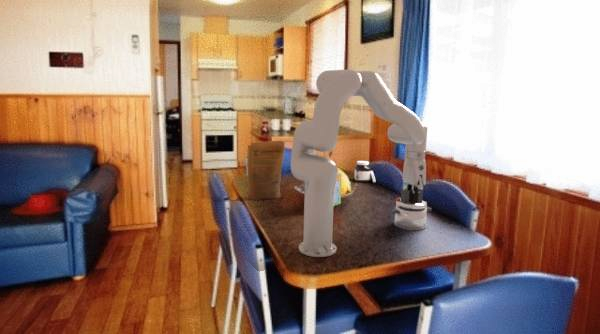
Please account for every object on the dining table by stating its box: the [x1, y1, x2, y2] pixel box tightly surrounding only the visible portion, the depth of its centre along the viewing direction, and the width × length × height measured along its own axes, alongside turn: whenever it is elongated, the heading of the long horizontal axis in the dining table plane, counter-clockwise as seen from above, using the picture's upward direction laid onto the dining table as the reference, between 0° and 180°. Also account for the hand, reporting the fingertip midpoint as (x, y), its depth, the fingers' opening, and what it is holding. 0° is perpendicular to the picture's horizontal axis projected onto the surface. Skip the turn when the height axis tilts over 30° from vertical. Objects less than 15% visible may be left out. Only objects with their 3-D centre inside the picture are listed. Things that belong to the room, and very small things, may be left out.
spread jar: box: [354, 160, 377, 183], centre depth 237 cm, size 12×11×12 cm
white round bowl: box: [395, 188, 428, 209], centre depth 160 cm, size 12×12×6 cm
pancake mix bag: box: [246, 140, 286, 201], centre depth 194 cm, size 7×19×28 cm, turn 112°
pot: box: [389, 205, 433, 231], centre depth 162 cm, size 12×17×8 cm
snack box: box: [304, 172, 342, 207], centre depth 182 cm, size 21×6×15 cm, turn 141°
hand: (411, 201), depth 160 cm, fingers closed on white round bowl, 2 cm apart
